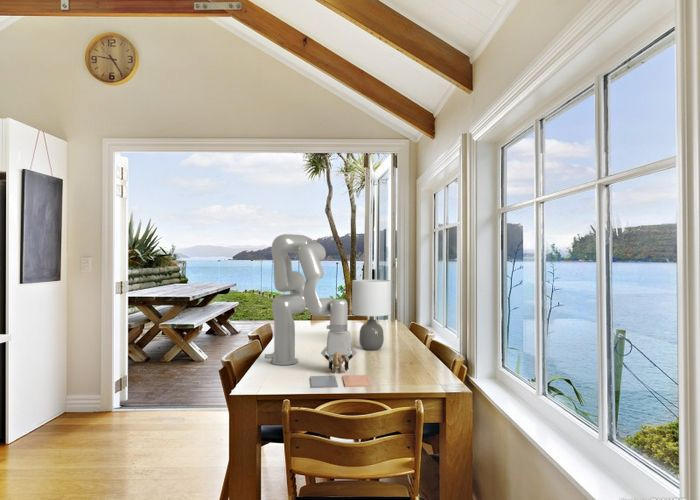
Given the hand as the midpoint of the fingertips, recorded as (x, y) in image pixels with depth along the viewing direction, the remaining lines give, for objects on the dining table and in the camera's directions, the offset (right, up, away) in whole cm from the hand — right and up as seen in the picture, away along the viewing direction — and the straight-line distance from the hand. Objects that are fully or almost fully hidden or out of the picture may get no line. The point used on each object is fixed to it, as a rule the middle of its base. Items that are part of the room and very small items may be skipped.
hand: (338, 369), depth 214 cm
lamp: (+16, -2, +53) cm, 55 cm away
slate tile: (-5, -2, -17) cm, 18 cm away
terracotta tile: (+7, -2, -15) cm, 17 cm away
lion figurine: (+1, -1, +1) cm, 2 cm away
